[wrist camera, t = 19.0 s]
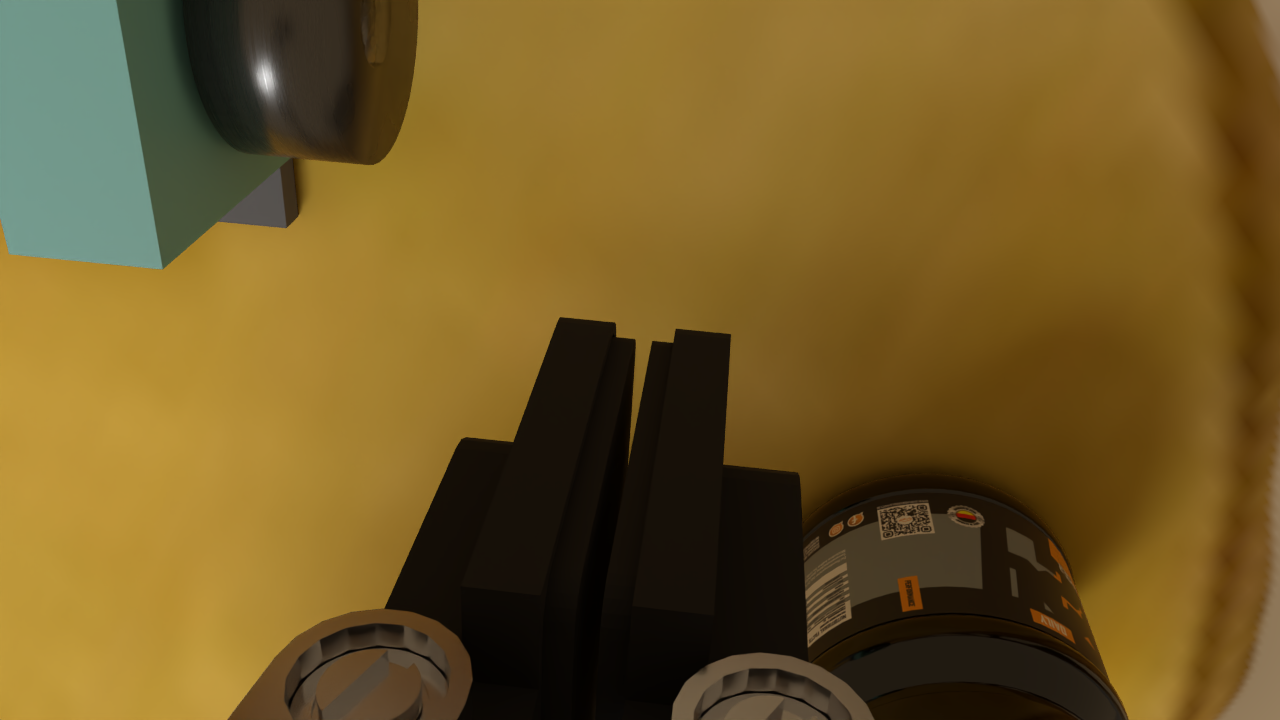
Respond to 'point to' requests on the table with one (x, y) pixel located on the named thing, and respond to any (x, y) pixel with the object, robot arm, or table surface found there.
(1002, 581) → the supplement container
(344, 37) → the shaft
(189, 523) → the table surface
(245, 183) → the spacer
